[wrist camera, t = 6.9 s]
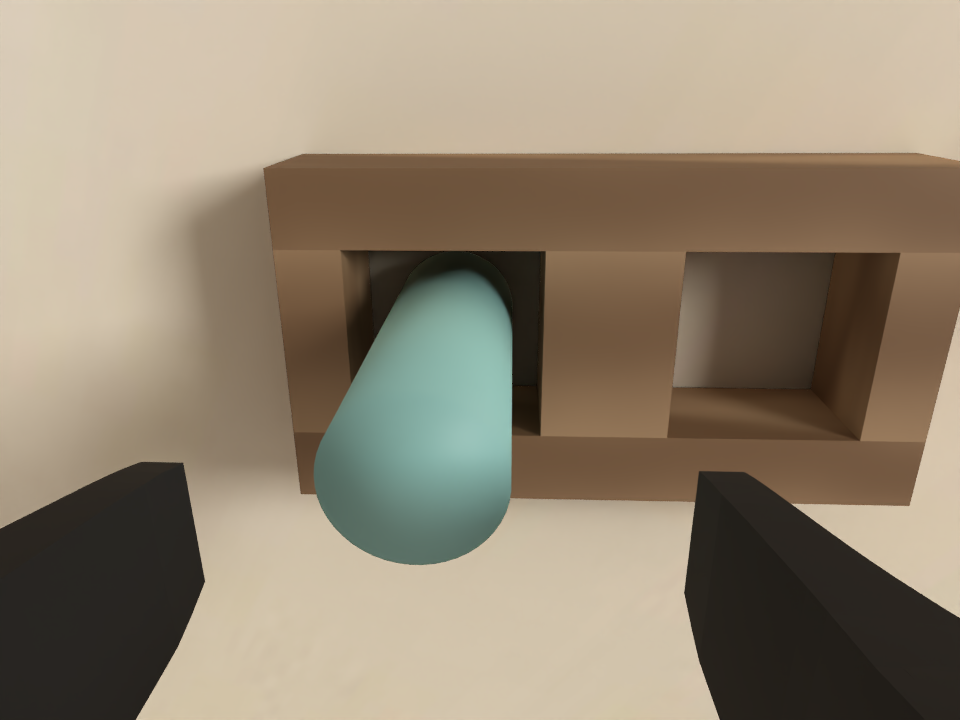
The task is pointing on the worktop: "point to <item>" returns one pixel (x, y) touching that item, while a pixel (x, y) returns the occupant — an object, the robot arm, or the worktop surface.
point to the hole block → (645, 307)
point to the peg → (427, 420)
